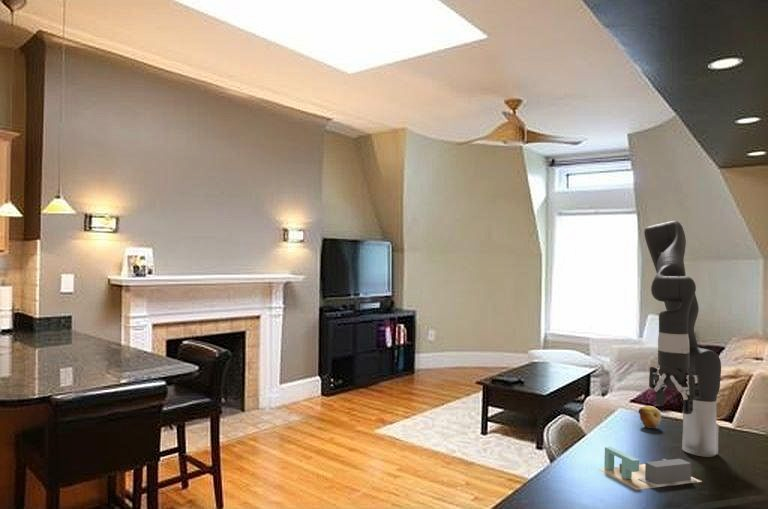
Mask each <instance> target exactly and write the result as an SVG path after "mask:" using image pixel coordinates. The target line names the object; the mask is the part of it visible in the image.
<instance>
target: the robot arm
mask: <svg viewBox="0 0 768 509" xmlns="http://www.w3.org/2000/svg"><path fill="white" fill-rule="evenodd" d="M643 234H644V239H645V240H644V241H645V243H646V246H647V249H648V251H649V255H650V258H651V261H652V263H653V266H654V269H655V272H656V275H655V276H654V279H653V280H652V282H651V288H650V292H651V295H652V297H653V298H654V299H655V300H656V301H658V302H662V303H664V306H665V309H666V310H662V311H660V312H659V315H658V335H657V336H658V337H657V365H658V366H650V367H649V374H648V376H649V378H648V380H649V381H648V387H649V388H650V389H653V390H654V392H655V404H656V405H657V406H658V407H662V406H665V402H666V401H665V400H666V396H665V394H666V393H665V392H666V391H665V390H666V388H668V387H671V388H674V389H676V390H677V391H678V392H679V393H680V394H681V395H682V398H683V399H682V436H681V437H682V444H681V446H682V447H681V449H682V451H683V452H686V453H688V454H690V455H694V456H699V457H704V458H712V457H715V456H717V455H719V423H717V399H718V395H719V392H720V389H721V388H720V387H721V379H722V378H721V377H722V376H721V375H722V362H721V358H720V356H719V354H718V353H717V352H715V351H714V350H711V349H708V348H701V347H699V345H698V342H697V338H696V335H695V324H696V322H697V318H698V315H699V303H698V302H699V301H698V298H697V296H696V290H697V286H696V282H695V281H694V279H693V277H690V276H686V268H685V264H684V263H685V262H684V261H685V260H684V259H685V258H684V257H685V254H686V245H687V240H686V233H685V231H684V228H683V226H682V224H681V223H680V222H679V221H677V220H671V221H667V222H666V221H665V222H662V223H657V224H653V225H649V226H646V227H645V228H644V232H643Z"/></svg>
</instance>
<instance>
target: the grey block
mask: <svg viewBox="0 0 768 509" xmlns="http://www.w3.org/2000/svg"><path fill="white" fill-rule="evenodd" d="M644 464H645V479H646V480H648V481H650V482H652V483H654V484H663V483H672V482H680V481H688V480H691V477H692V463H691V462H689V461H687V460H684V459H682V458H674V459H666V460H663V461H662V460H655V461H645V463H644Z"/></svg>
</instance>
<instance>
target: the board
mask: <svg viewBox="0 0 768 509" xmlns="http://www.w3.org/2000/svg"><path fill="white" fill-rule="evenodd" d="M663 460H667V459H665V458H662V459H661V461H663ZM598 470H599V471H601V472H603V473H605V475H608V476H610V477H612V478H614V479H616V480H618V481H620V482H621V483H623V484H625V485H627V486H628V487H630V488H632V489H635V490H636V491H638V490H644V489H645V490H646V489H647V490H648V489H653V488H654V489H655V488H661V487H670V486H678V485H685V484H687V485H688V484H693V483H702V482H703V481H702V480H700V479H697V478H695V477H693V476H691V480H688V481H680V482H672V483H663V484H654V483H652V482H650V481H648V480H646V479H645V463H643V464H642V463H641V464H639V471H638V472H632V478H630V479H625V478H623V477H621V475H622V462H621V463H619V466H614V469H612V470H608V469H606V468H598Z"/></svg>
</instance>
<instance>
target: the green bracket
mask: <svg viewBox="0 0 768 509" xmlns="http://www.w3.org/2000/svg"><path fill="white" fill-rule="evenodd" d="M615 457H617V458H619V459H620V460H621V463H622V475H621V477H623V478H625V479H630V478H632V472H638V471H639V465H640V459H638V458H635V457H634V456H631V455H629V454H627V453H625V452H623V451H621V450H618V449H617V448H614V447H612V446H605V447H604V465H603V466H604V468H606V469H608V470H612V469H614V467H615ZM604 468H603V469H604Z"/></svg>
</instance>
